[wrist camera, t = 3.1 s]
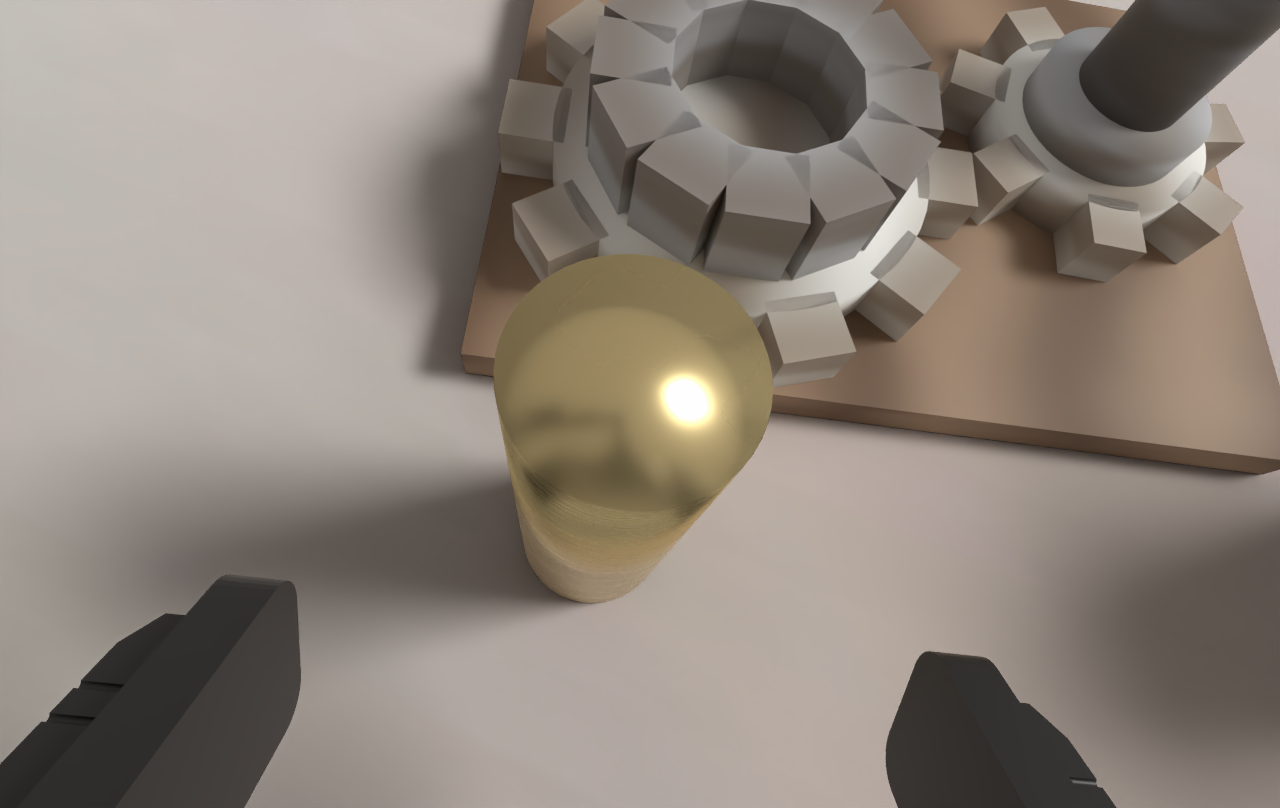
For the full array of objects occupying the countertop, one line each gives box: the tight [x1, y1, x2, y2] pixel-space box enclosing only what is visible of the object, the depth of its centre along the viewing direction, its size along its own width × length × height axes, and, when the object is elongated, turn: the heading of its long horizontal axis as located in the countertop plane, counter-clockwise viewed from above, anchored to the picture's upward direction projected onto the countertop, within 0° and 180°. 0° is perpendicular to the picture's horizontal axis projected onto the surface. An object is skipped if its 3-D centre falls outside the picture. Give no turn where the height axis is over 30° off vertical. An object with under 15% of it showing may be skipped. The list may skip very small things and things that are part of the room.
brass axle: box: [493, 254, 773, 603], centre depth 14 cm, size 4×4×10 cm
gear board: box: [461, 0, 1280, 474], centre depth 19 cm, size 24×18×11 cm
